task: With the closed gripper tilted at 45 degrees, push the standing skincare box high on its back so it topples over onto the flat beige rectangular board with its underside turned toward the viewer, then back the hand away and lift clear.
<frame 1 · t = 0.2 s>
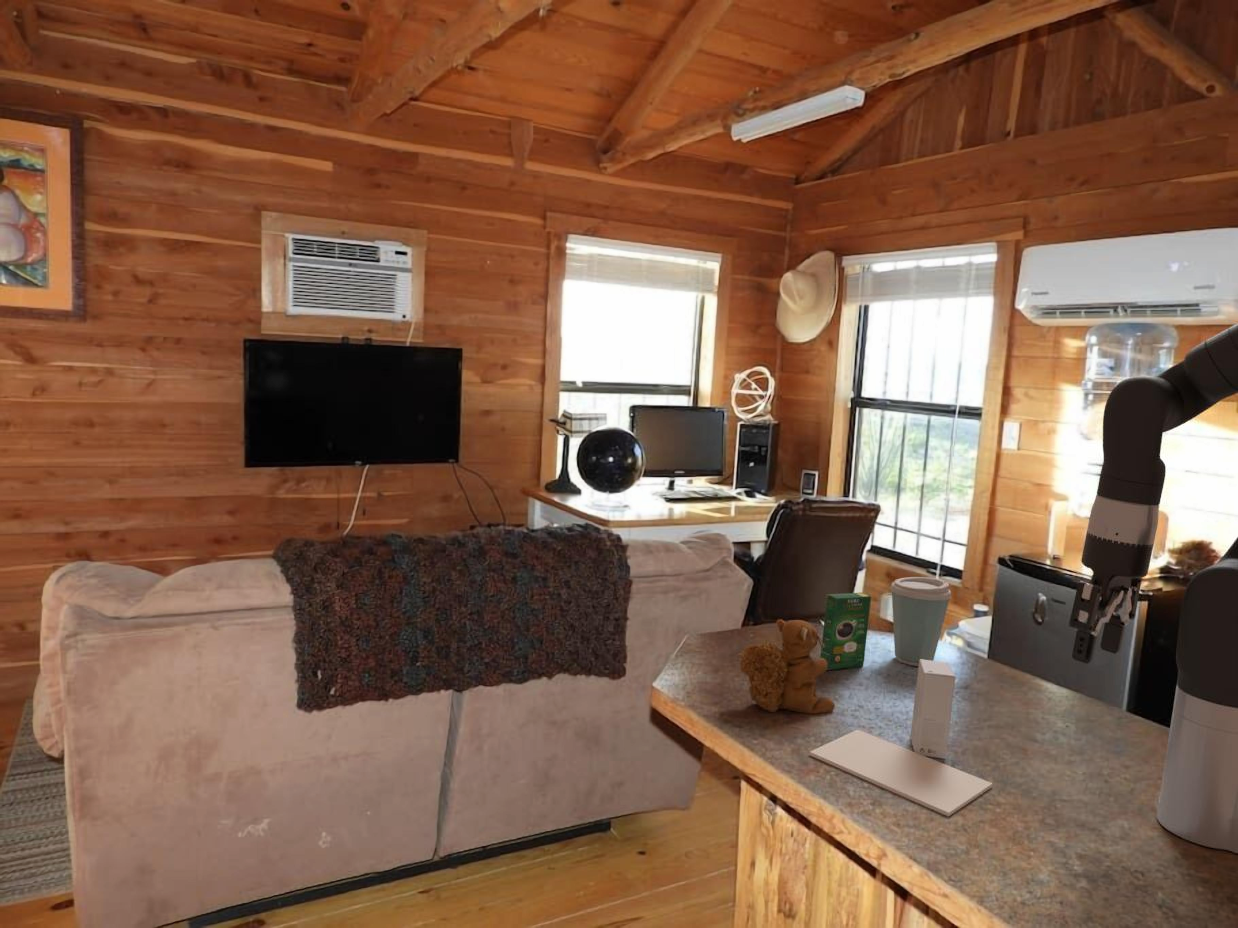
hand: (1095, 656, 116), 18 cm above the counter, tool pointing down, fingers open, 8 cm apart
flat beige rectangular board: (898, 770, 119), on the counter
coffee box: (841, 667, 158), on the counter
disposable coffee cup: (912, 661, 164), on the counter
stuffed squirrel: (782, 705, 140), on the counter
skincare box: (927, 749, 127), on the counter
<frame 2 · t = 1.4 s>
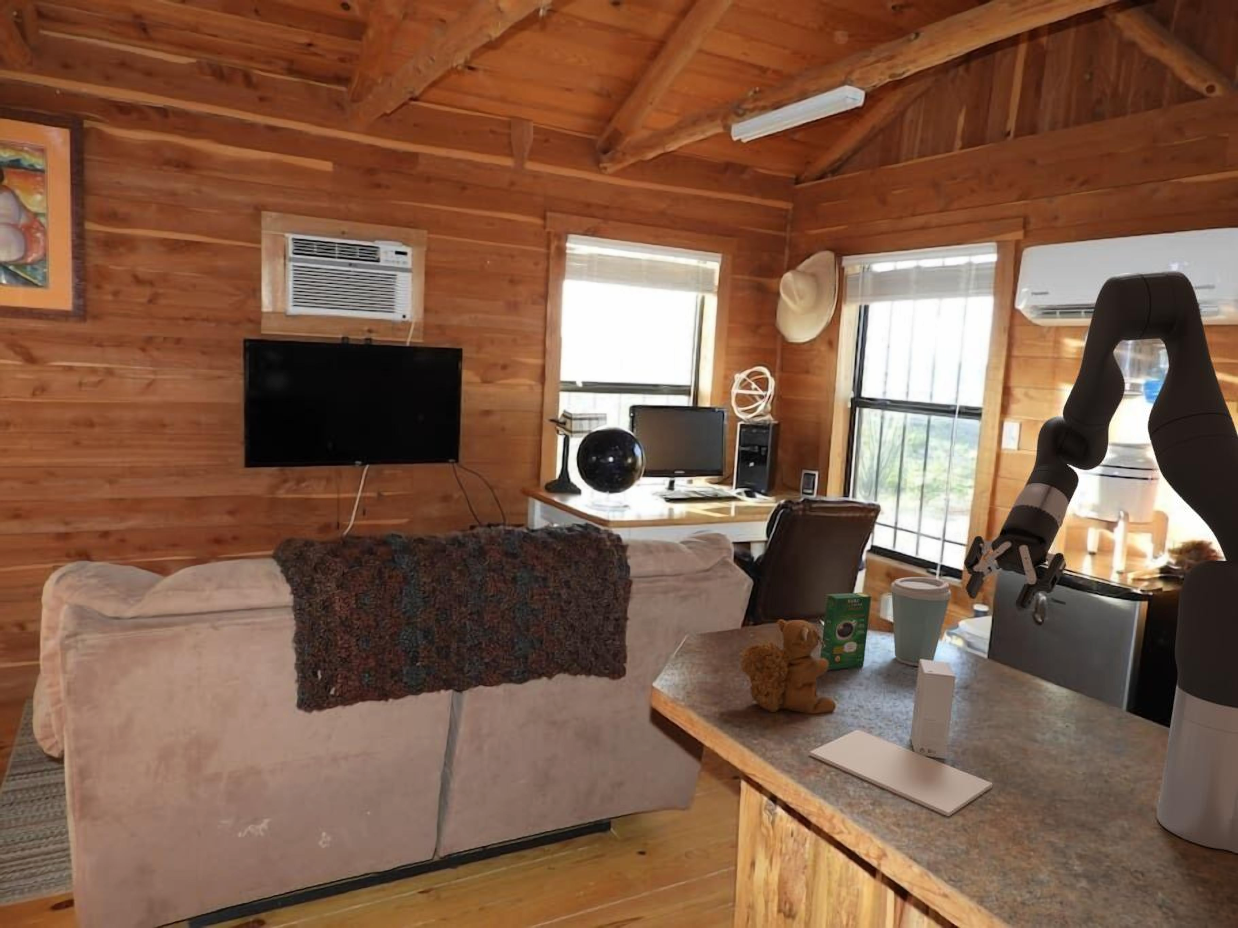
hand: (994, 601, 136), 19 cm above the counter, tool tilted 45°, fingers open, 7 cm apart
nothing on the counter moved.
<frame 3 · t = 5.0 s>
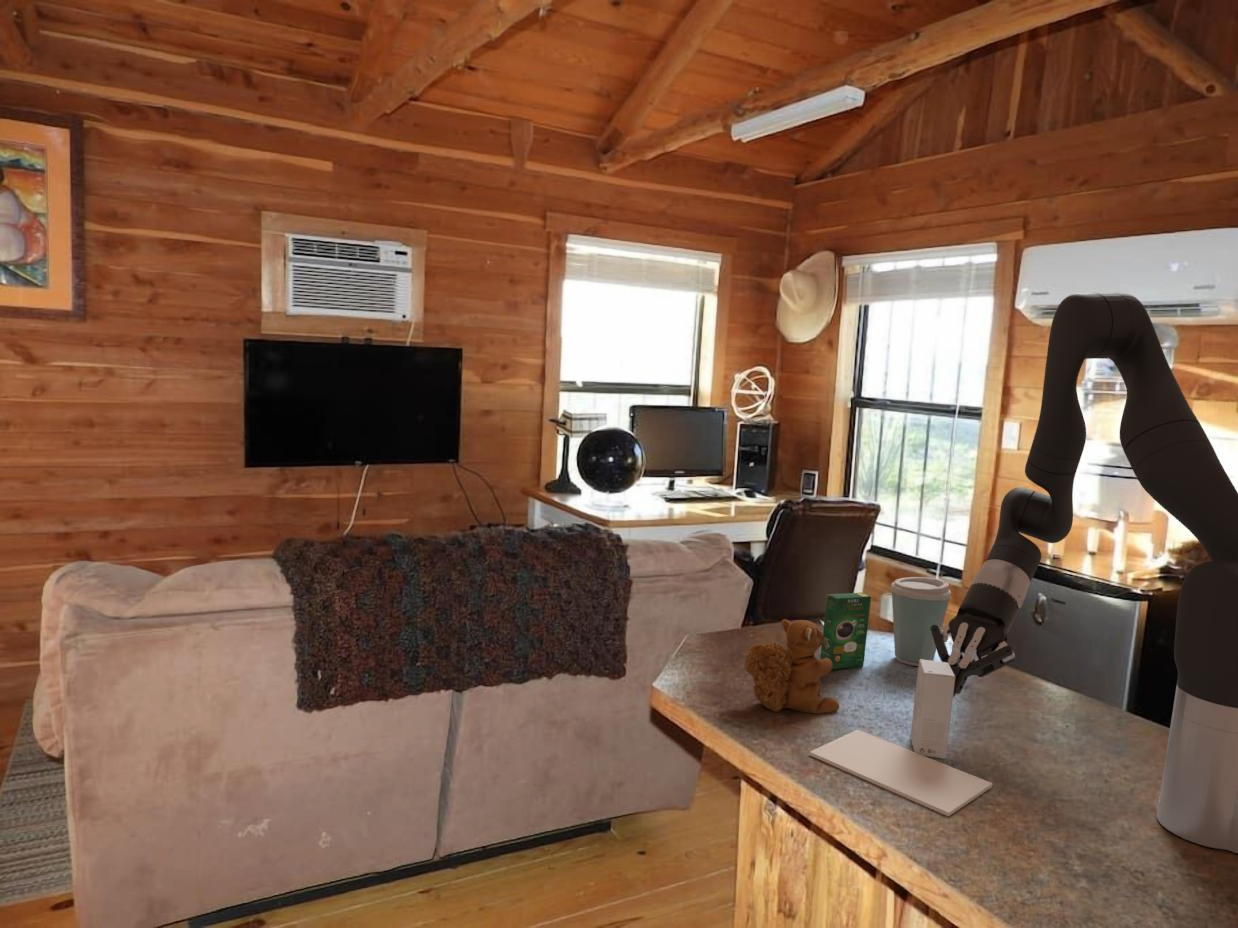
hand: (947, 692, 129), 7 cm above the counter, tool tilted 45°, fingers closed
skincare box: (927, 749, 127), on the counter, touching gripper
everything else where it was.
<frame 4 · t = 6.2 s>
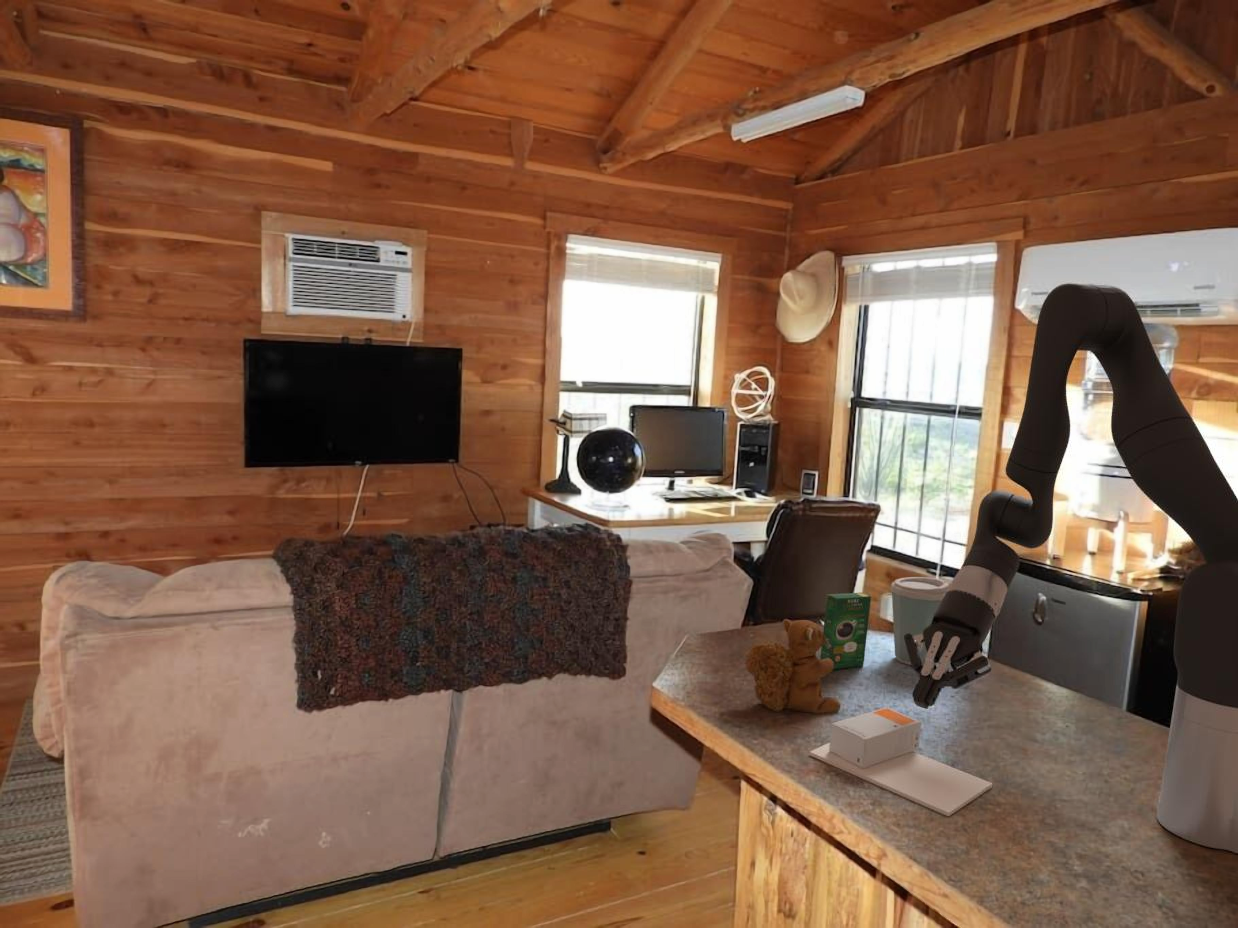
hand: (920, 704, 123), 7 cm above the counter, tool tilted 45°, fingers closed
skincare box: (903, 726, 127), point 3 cm above the counter, touching flat beige rectangular board
everything else where it was.
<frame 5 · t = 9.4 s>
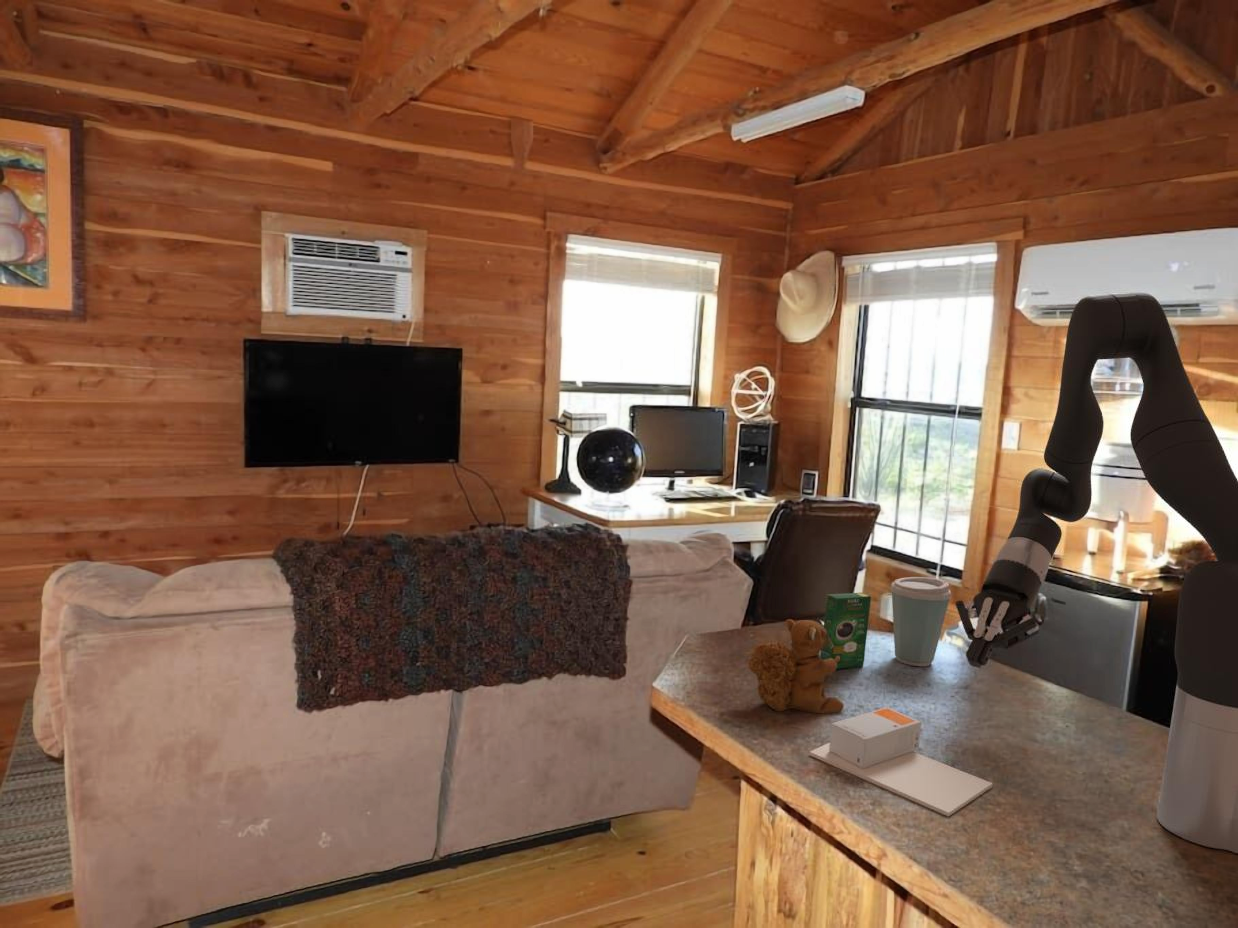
hand: (973, 663, 133), 10 cm above the counter, tool tilted 45°, fingers closed
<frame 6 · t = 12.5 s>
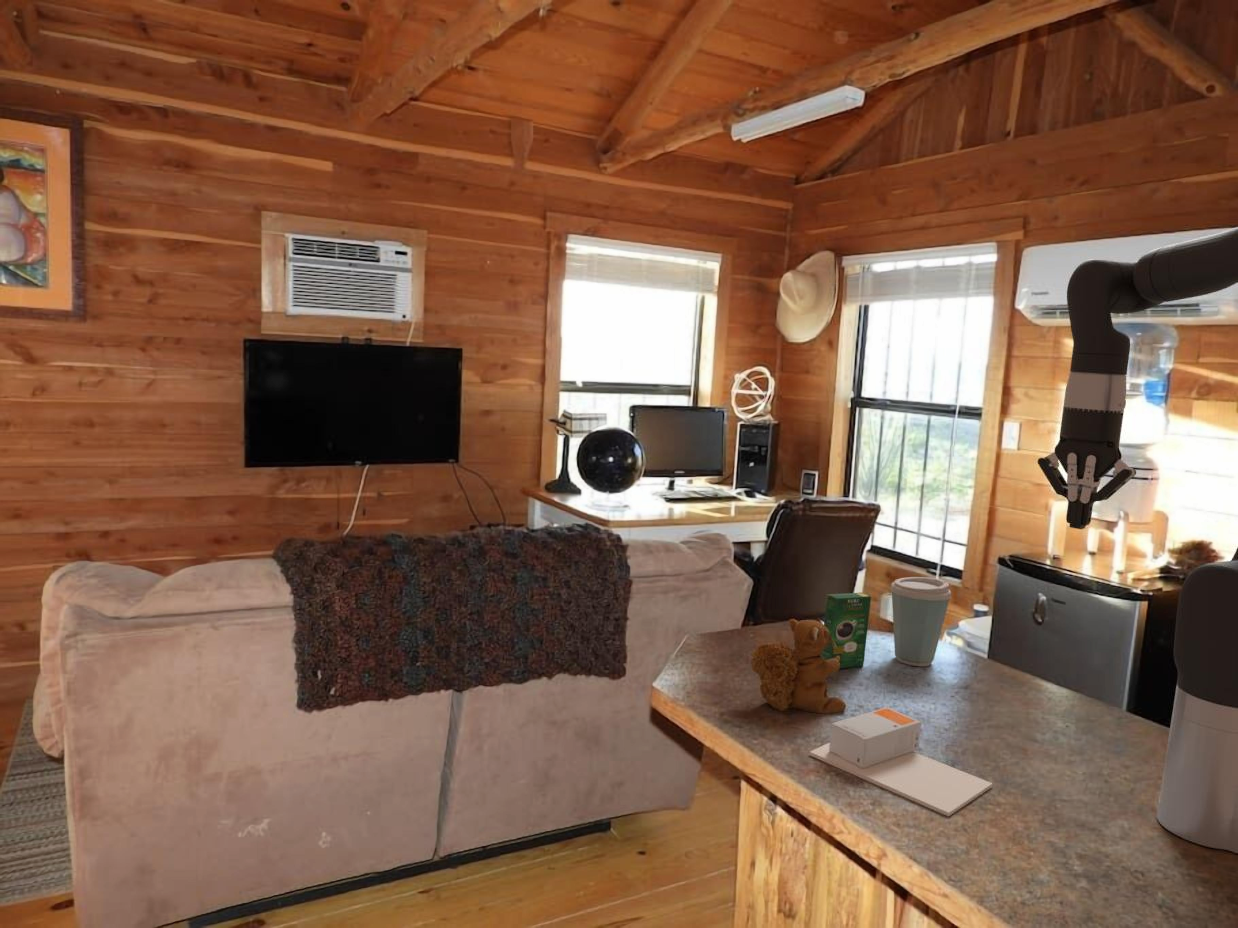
hand: (1077, 527, 128), 32 cm above the counter, tool pointing down, fingers closed
at the end: skincare box tilted 91°; skincare box touching flat beige rectangular board; skincare box inside the target area (6.0 cm from its centre), point 2.7 cm above the counter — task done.
